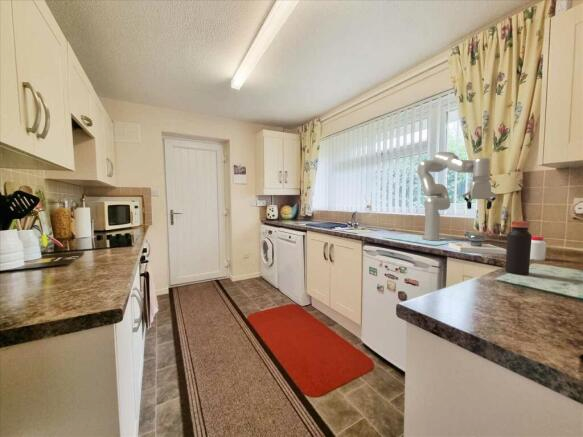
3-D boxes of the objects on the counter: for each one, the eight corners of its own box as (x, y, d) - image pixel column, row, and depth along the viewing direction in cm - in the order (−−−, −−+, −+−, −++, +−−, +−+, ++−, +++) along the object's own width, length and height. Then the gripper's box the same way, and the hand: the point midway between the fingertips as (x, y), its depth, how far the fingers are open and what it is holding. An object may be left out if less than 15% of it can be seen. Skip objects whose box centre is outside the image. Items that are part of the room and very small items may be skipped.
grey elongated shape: (487, 246, 134) (487, 235, 133) (471, 246, 136) (472, 235, 135) (472, 242, 150) (473, 232, 150) (458, 241, 152) (459, 231, 152)
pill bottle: (540, 257, 121) (541, 236, 120) (548, 261, 114) (550, 238, 113) (520, 256, 124) (521, 235, 123) (527, 259, 117) (528, 236, 116)
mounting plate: (448, 246, 150) (448, 241, 150) (489, 248, 144) (490, 243, 144) (460, 251, 133) (460, 246, 133) (507, 254, 128) (507, 249, 127)
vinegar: (531, 273, 92) (535, 221, 91) (525, 276, 89) (529, 222, 87) (508, 269, 98) (511, 220, 97) (502, 271, 94) (505, 221, 93)
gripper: (494, 180, 142) (493, 209, 143) (461, 180, 147) (459, 208, 148) (501, 178, 135) (499, 209, 136) (466, 179, 140) (464, 208, 141)
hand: (478, 208), depth 142 cm, fingers open, 9 cm apart
